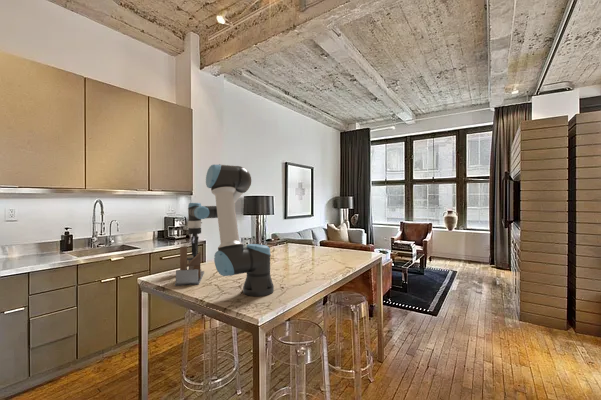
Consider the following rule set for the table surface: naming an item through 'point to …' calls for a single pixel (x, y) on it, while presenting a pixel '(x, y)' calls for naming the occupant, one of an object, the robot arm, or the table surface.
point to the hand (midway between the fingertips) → (195, 265)
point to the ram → (189, 261)
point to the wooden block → (194, 262)
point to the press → (188, 277)
